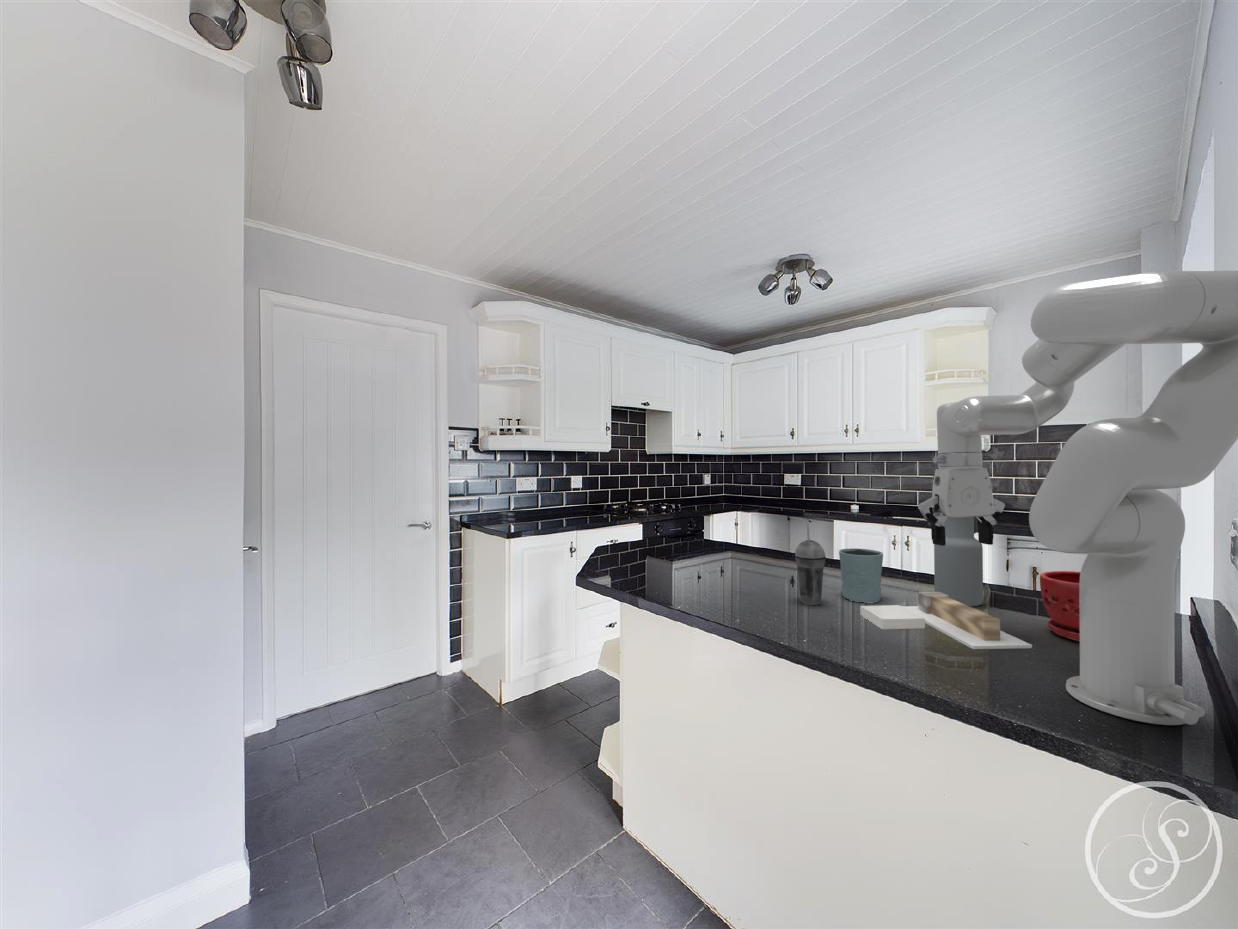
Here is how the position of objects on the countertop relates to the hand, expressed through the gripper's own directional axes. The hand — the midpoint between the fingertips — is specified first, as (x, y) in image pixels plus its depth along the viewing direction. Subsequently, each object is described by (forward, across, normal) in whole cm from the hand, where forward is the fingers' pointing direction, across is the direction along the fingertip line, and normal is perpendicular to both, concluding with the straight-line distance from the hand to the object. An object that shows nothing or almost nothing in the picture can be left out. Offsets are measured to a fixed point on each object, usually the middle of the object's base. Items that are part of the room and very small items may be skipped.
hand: (962, 544), depth 100 cm
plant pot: (+18, +20, -5) cm, 27 cm away
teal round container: (+17, -10, +23) cm, 31 cm away
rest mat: (+18, 0, +2) cm, 18 cm away
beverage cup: (+17, -24, +20) cm, 36 cm away
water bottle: (+17, +12, +19) cm, 28 cm away
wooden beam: (+17, 0, +2) cm, 17 cm away
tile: (+17, -12, +1) cm, 21 cm away
